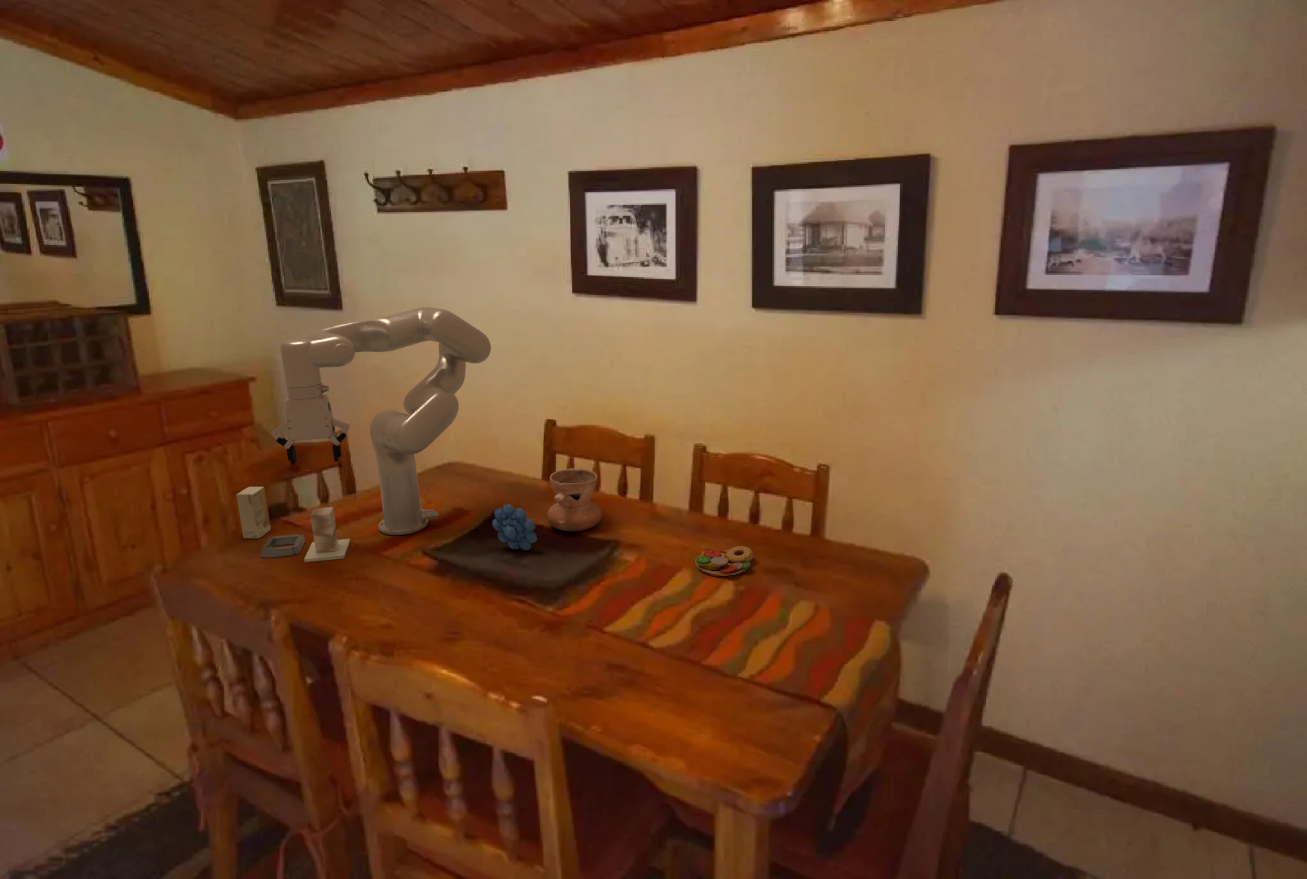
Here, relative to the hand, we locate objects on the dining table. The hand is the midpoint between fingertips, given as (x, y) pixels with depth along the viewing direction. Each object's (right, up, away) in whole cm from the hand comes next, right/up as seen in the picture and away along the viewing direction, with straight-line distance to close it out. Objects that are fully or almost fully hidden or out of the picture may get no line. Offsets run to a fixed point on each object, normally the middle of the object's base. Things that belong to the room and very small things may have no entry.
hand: (315, 461), depth 184 cm
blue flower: (+46, -23, +6) cm, 52 cm away
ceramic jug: (+60, -18, +22) cm, 66 cm away
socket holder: (-12, -22, +8) cm, 26 cm away
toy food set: (+97, -25, -3) cm, 100 cm away
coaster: (0, -23, +7) cm, 24 cm away
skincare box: (-23, -20, +18) cm, 35 cm away
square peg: (0, -22, +6) cm, 23 cm away
